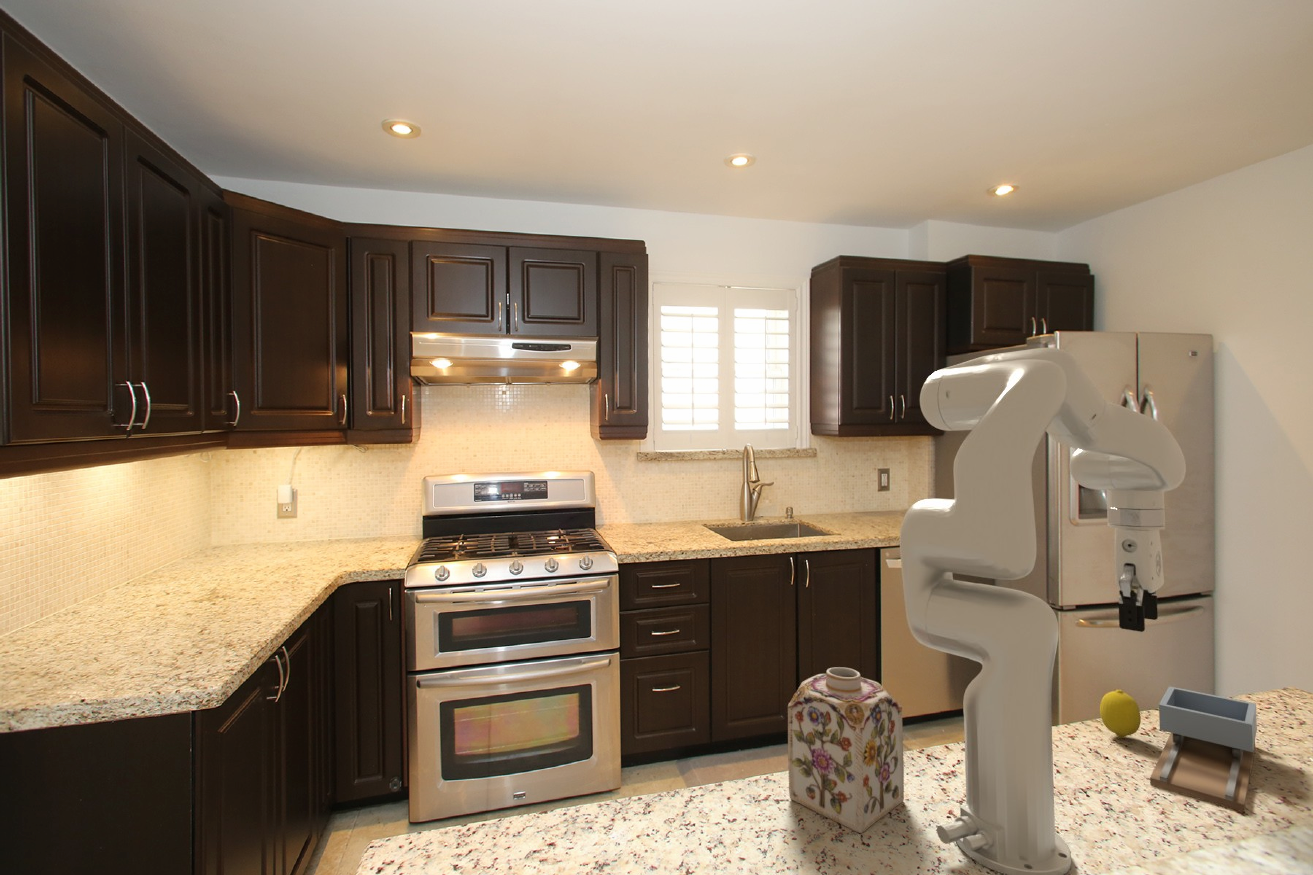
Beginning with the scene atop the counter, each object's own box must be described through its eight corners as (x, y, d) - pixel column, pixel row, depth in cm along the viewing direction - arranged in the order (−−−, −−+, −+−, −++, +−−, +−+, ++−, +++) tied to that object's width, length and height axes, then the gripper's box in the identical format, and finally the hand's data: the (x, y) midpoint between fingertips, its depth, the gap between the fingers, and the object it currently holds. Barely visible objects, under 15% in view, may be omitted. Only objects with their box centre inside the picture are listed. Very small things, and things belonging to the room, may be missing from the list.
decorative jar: (786, 799, 89) (784, 671, 90) (833, 771, 97) (830, 652, 97) (863, 837, 80) (860, 694, 81) (908, 802, 88) (904, 672, 88)
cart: (1253, 765, 93) (1251, 724, 93) (1160, 742, 100) (1158, 704, 101) (1257, 741, 100) (1255, 703, 100) (1170, 721, 108) (1169, 686, 108)
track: (1244, 811, 84) (1243, 781, 84) (1150, 784, 91) (1149, 756, 92) (1255, 746, 102) (1254, 721, 103) (1175, 727, 110) (1175, 704, 110)
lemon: (1127, 730, 109) (1126, 684, 109) (1149, 745, 103) (1147, 696, 103) (1093, 730, 109) (1092, 683, 109) (1113, 744, 104) (1111, 695, 104)
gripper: (1153, 525, 95) (1157, 639, 95) (1174, 516, 107) (1178, 618, 106) (1093, 521, 101) (1097, 630, 100) (1120, 513, 112) (1123, 610, 112)
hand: (1139, 623), depth 103 cm, fingers open, 9 cm apart
